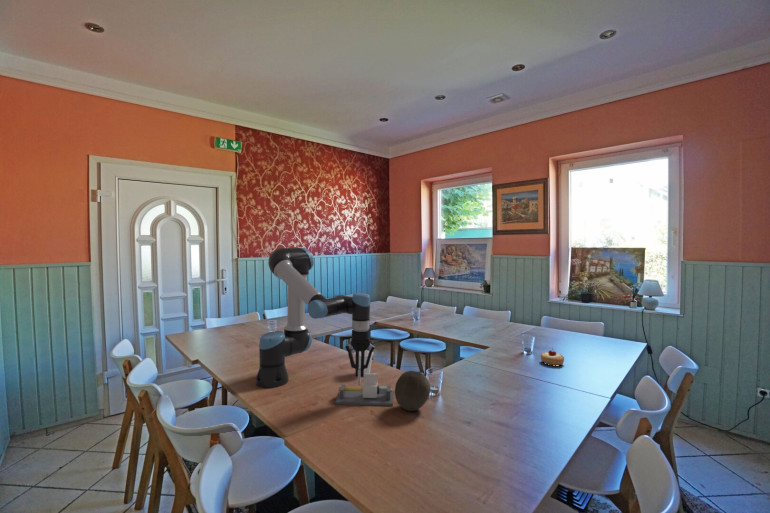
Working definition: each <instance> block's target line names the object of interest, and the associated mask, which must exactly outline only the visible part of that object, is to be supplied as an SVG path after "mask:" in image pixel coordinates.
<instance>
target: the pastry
mask: <svg viewBox="0 0 770 513" xmlns="http://www.w3.org/2000/svg"><path fill="white" fill-rule="evenodd" d="M551 349H552V350H548V352H547V351H545V352H542V353H541V354H540V360H541V362H542V363H543V362H544V363H546V364H549V365H561V366H562V365H564V361H565V356H564V355H562V354H560V353H557V352H556V351H555V350H554V348H551ZM544 363H543V364H544ZM546 364H545V365H546ZM549 365H548V366H549Z"/></svg>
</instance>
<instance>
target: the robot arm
mask: <svg viewBox="0 0 770 513" xmlns="http://www.w3.org/2000/svg"><path fill="white" fill-rule="evenodd" d="M314 261H315V260H314V256H313V254H312V252H311V251H310V250H309V249H307V248H304V247H281V248H277V249H275V250H274V251H272V252H271V253H270V255H269V258H268V262H267V263H268V268H269V270H270V272H271V273H272V274H273V275H274V276H275V277H276V278H278V279H279V278H280V279H281V280H282V281H283V283H285V284H286V285H287V314H286V315H287V320H286V321H287V322H286V325H285V326H284V327H283V331H281V330H275V331H269V332H266V333H264V334H263V335H261V336H260V337H259V345H258V348H259V352H258V354H259V355H258V356H259V366H258V367H259V368H258V371H257V375H256V377H255V386H257V387H259V388H264V389H265V388H276V387H280V386H283V385H285V384H287V383H288V382H289V373H288V371H287V366H286V363H285V362H286V358H287V357H290V356H294V355H297V354H302V353H304V352H306V351H308V350H309V349H310V347H311V345H312V342H313V337H312V336H313V334H311V330H309V328H308V326H307V325H306V324H305V322H306V321H305V319H306V318H305V316H306V314H305V312H306V306H307V313H308V315H309V316H310V318H312V319H324V318H327V317H331V316H337V315H342V314H348V315H351V329H352V330H351V341H350V343H349V344H346V345H345V350H346V351H347V354H348V358H349V362H350V367H351V368H352V369H355V371H354V372H355V377H357V385H358V386H361V384H362V378H364V376H363V375H364V369H365V368H368V364H369V361H370V357H371V354H372V352H373V353H374V351H375V348H376V346H375V345H373V344H372V343H371V340H370V326H371V325H370V314H371V313H370V312H371V311H370V310H371V296H370V294H368V293H364V292H356V293H354V294H352V296H349V295H343V294H337V295H334V296H333V297H328V298H326V297H325V296H324V295H323V294H322V293H321V292H320V291H319V290H318V289H316V287H315V286H313V284H311V282H310V281H309V280H307V279H306V278H307V277H308V276H309V274H310V273H309V271H310V270H312V269H313V266H314V264H315V262H314ZM352 348H353V350H354V353H355V354H356V359H354V355H355V354H354V355H353V351H352ZM368 349H369V354H368V358H367V361H366V364H365V365H364V356H365V350H368ZM359 351H361V368H359Z"/></svg>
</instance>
